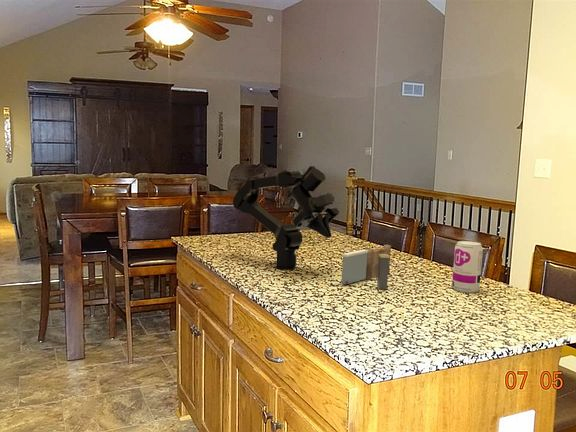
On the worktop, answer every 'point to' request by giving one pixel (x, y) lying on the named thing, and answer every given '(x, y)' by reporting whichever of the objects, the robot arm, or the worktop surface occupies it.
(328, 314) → the worktop surface
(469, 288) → the supplement can
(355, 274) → the cream flat slab
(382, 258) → the stile
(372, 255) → the fence
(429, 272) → the worktop surface
